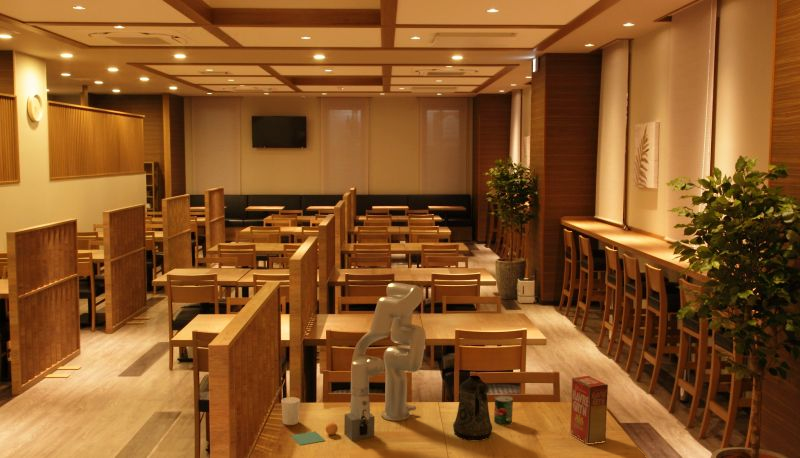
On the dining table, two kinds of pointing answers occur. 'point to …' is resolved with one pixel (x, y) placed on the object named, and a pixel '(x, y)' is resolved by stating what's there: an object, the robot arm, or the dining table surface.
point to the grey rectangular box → (357, 427)
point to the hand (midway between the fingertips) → (359, 430)
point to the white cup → (290, 410)
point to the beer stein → (473, 411)
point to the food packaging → (589, 409)
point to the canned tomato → (503, 410)
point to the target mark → (307, 438)
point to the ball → (331, 428)
